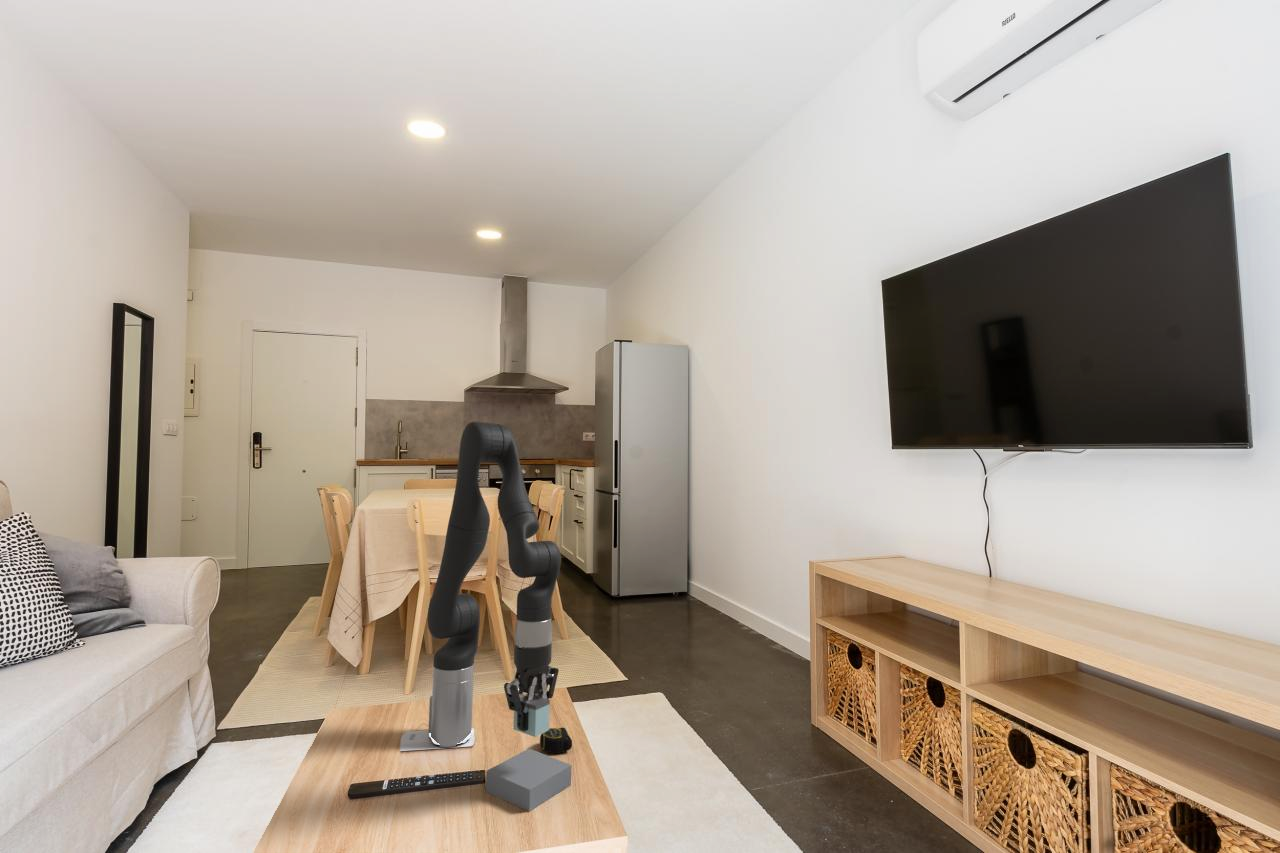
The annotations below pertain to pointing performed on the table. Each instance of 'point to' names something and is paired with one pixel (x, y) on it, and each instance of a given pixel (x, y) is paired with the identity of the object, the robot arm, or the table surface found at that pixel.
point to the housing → (536, 716)
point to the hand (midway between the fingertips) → (531, 725)
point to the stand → (528, 779)
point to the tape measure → (555, 740)
